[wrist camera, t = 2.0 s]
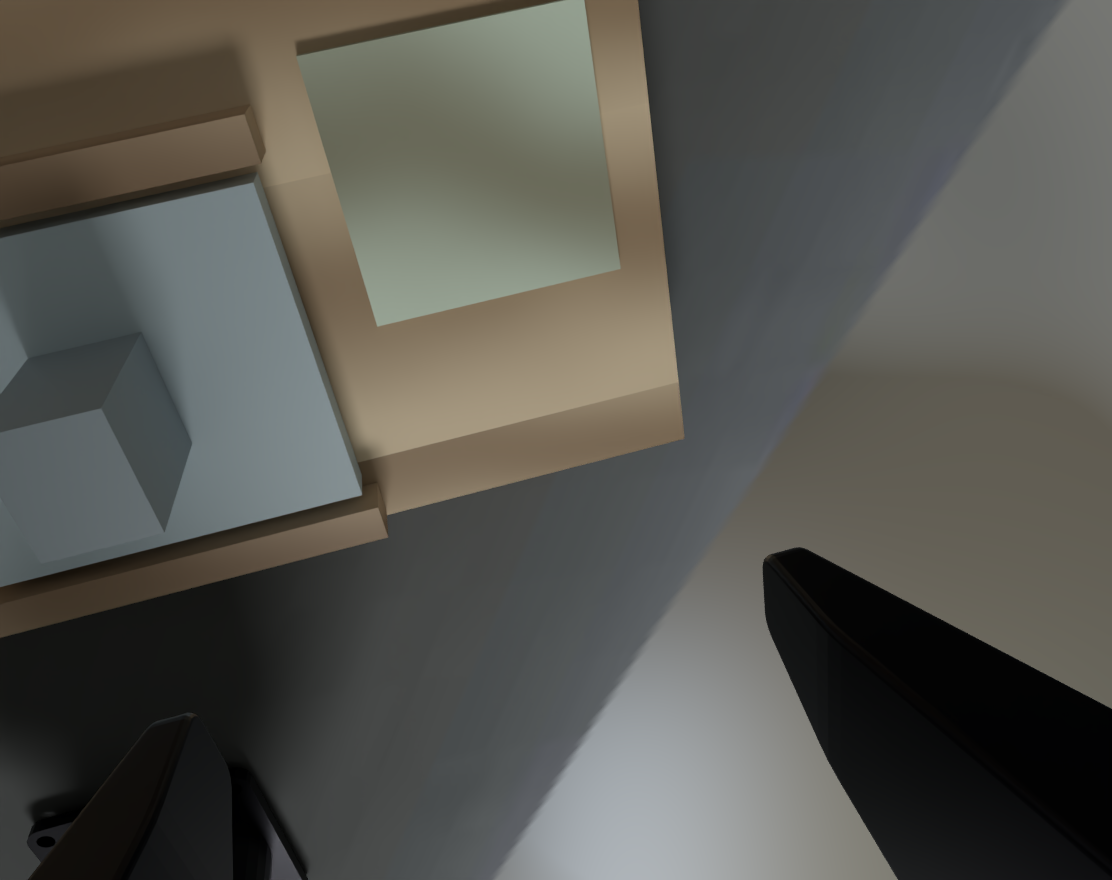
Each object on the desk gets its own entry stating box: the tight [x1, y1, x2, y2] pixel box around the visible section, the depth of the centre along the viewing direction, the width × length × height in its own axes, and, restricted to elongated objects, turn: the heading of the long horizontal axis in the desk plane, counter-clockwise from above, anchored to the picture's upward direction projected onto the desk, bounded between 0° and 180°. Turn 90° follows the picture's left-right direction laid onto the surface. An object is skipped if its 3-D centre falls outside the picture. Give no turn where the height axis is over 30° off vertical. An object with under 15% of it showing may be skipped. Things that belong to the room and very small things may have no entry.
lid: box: [0, 172, 362, 587], centre depth 15 cm, size 7×8×4 cm
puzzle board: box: [0, 0, 684, 638], centre depth 15 cm, size 19×20×4 cm
